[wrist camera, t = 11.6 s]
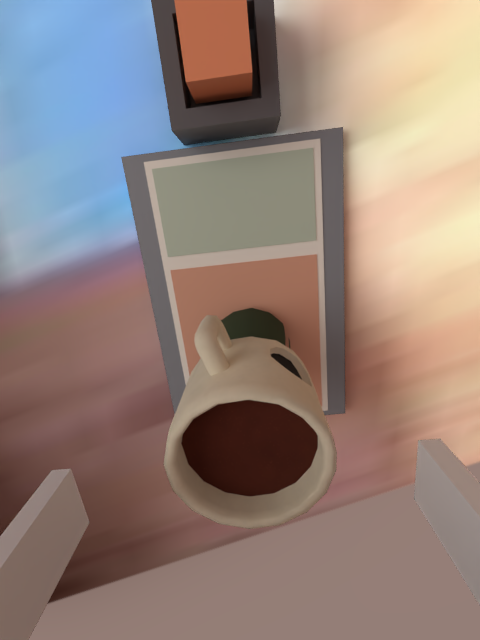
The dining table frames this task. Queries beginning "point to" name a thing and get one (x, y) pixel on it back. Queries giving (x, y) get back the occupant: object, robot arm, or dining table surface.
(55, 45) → the dining table surface
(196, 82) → the button cap
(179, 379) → the picture board
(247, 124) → the button housing
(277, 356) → the character mug
